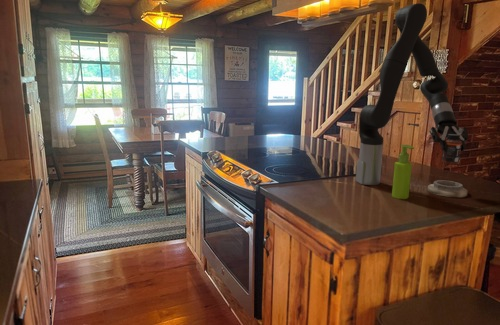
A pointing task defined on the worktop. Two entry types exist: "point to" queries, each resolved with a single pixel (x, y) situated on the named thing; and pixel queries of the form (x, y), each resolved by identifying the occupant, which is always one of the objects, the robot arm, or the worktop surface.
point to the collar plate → (447, 194)
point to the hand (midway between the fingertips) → (454, 150)
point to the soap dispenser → (402, 175)
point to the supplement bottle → (452, 149)
